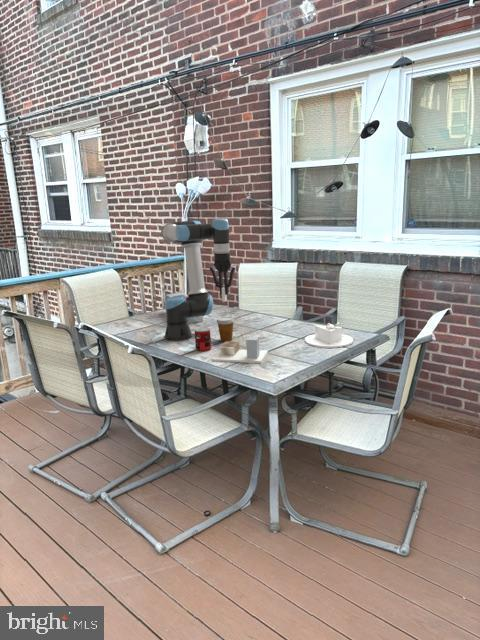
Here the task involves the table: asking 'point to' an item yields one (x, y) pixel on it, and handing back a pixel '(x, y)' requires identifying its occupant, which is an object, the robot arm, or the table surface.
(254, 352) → the grey block
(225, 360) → the board
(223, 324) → the disposable coffee cup
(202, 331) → the canned food
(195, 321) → the soda pack
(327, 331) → the dish
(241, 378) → the table surface
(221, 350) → the walnut block
